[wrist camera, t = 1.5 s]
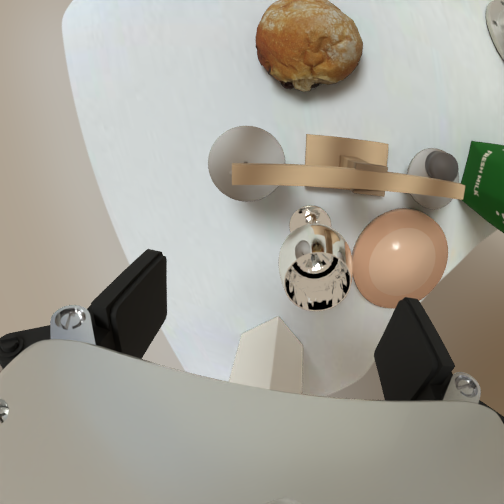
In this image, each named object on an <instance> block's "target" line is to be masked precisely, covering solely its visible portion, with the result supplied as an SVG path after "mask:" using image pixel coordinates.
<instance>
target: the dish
mask: <svg viewBox="0 0 504 504" xmlns="http://www.w3.org/2000/svg"><path fill="white" fill-rule="evenodd" d="M447 258H448V246H447V241H446V237H445V235H444V232H443V231H442V229H441V227H440V226H439V225H438V224H437V223H436V222H435V221H434V220H433V219H432V218H430V217H429V216H428V215H426V214H425V213H423V212H421V211H418V210H415V209H409V208H401V209H395V210H391V211H388V212H386V213H384V214H382V215H380V216H378V217H377V218H375V219H374V220H373V221H372V222H370V223H369V224H368V225H367V226H366V228H365V229H364V230H363V231H362V233H361V234H360V236H359V237H358V239H357V241H356V244H355V246H354V249H353V253H352V261H353V277H354V280H355V283H356V285H357V287H358V289H359V291H360V292H361V294H362V295H363V296H364V297H365V298H366V299H367V300H368V301H370V302H371V303H373V304H375V305H378V306H380V307H385V308H396V306H397V304H398V302H399V301H400V300H402V299H403V298H404V297H408V298H415V299H418V300H421V299H422V298H424V297H425V296H426V295H428V294H429V293H430V292H431V291H432V290H433V289H434V287H435V286H436V285H437V284H438V282H439V281H440V279H441V277H442V275H443V273H444V270H445V268H446V264H447Z"/></svg>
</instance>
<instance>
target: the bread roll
mask: <svg viewBox="0 0 504 504" xmlns="http://www.w3.org/2000/svg"><path fill="white" fill-rule="evenodd" d="M256 48H257V55H258V59H259V61H260V63H261V65H263V66H264V68H265V69H266V70H267V71H268V74H270V75H272V76H273V77H274V78H275V79H276V80H278V81H279V82H281V84H282V86H284V87H285V88H286V89H293V88H295V89H297V90H300V91H303V92H306V91H310V89H311V88H316V87H317V86H319V85H320V84H327V85H328V84H334V83H337V82H338V81H340V80H343V79H345V78H346V77H347V76H348V75H349V74H351V73H352V72H353V70H354V69H355V68H356V66H357V65H358V62H359V60H360V57H361V55H362V49H363V42H362V39H361V37H360V34H359V32H358V29H357V27H356V25H355V23H354V21H353V20H352V19H351V18H349V17H348V16H347V15H346V14H344V13H342V12H341V10H340V9H339V8H337V7H336V6H335V5H334V4H332V3H331V2H329V1H328V0H279V1H276V2H275V3H273V4H272V5H271V6H270V7H269V8H268V9H267V10H266V11H265V13H264V15H263V16H262V19H261V21H260V23H259V25H258V27H257V33H256Z"/></svg>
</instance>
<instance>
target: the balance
mask: <svg viewBox="0 0 504 504" xmlns="http://www.w3.org/2000/svg"><path fill="white" fill-rule="evenodd" d="M387 156H388V144H385V143H379V142H372V141H365V140H358V139H350V138H341V137H332V136H322V135H310V134H306V155H305V165H298V164H285V156H284V152H283V150H282V147H281V145H280V144H279V142H278V141H277V140H276V139H275V137H273V136H272V135H271V134H270V133H268V132H267V131H265V130H263V129H261V128H258V127H253V126H239V127H235V128H232V129H230V130H228V131H226V132H224V133H223V134H222V135H221V136H219V137H218V139H217V140H216V141H215V142H214V144H213V146H212V148H211V150H210V153H209V158H208V169H209V173H210V176H211V179H212V181H213V182H214V184H215V185H216V187H217V188H218V189H219V190H220V191H221V192H222V193H223V194H225V195H226V196H228V197H230V198H232V199H235V200H238V201H245V202H247V201H256V200H260V199H262V198H265V197H266V196H268V195H269V194H271V193H272V192H273V191H274V190H275V189H276V188H277V187H278V185H287V186H313V187H325V188H336V189H346V190H351V191H352V192H353V193H358V194H367V195H375V196H384V195H385V191H392V192H402V193H411V195H412V197H413V198H414V200H415V201H416V202H417V203H419V204H420V205H422V206H423V207H425V208H428V209H439V208H442V207H444V206H446V205H447V204H449V203H450V202H451V200H452V199H460V200H463V197H464V191H465V185H463V184H460V183H459V173H458V163H457V161H456V159H455V158H454V157H453V156H452V155H451V154H448V153H446V152H444V151H442V150H440V149H435V148H428V149H424V150H422V151H420V152H419V153H417V154H416V155H415V156H414V158H413V159H412V161H411V163H410V165H409V168H408V172H407V174H401V173H393V172H387V170H388V167H387Z"/></svg>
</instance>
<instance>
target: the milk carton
mask: <svg viewBox="0 0 504 504" xmlns="http://www.w3.org/2000/svg"><path fill="white" fill-rule="evenodd" d="M461 184H463V185H465V191H464V197H463V200H462V201H463V202H464V203H466V204H467V205H468V206H469V207H471V208H472V209H473V210H474V211H476V212H477V213H478V214H479V215H481V216H482V217H483V218H484V219H485V220H486V221H488V222H489V223H490V224H492V225H493V226H494V227H496V228H497V229H499V230H500V231H502V232H503V233H504V145H498V144H491V143H483V142H475V141H472V142H471V146H470V151H469V155H468V159H467V163H466V167H465V171H464V174H463V178H462V181H461Z"/></svg>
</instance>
